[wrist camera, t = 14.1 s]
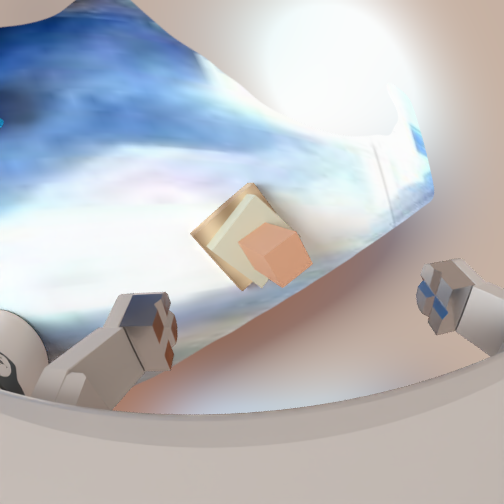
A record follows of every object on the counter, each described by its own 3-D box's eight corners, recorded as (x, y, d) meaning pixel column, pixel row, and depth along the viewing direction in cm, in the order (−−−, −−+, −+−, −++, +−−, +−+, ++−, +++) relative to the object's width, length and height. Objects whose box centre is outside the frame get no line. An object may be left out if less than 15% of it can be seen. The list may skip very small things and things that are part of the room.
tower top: (253, 281, 45) (261, 288, 42) (206, 246, 41) (211, 251, 38) (290, 232, 45) (300, 236, 42) (246, 193, 41) (255, 194, 39)
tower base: (235, 285, 47) (242, 291, 44) (189, 232, 42) (193, 236, 40) (286, 237, 48) (295, 240, 46) (245, 182, 44) (253, 183, 41)
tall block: (254, 269, 41) (282, 287, 34) (237, 242, 39) (263, 256, 32) (280, 249, 42) (312, 263, 34) (265, 222, 40) (296, 231, 33)
